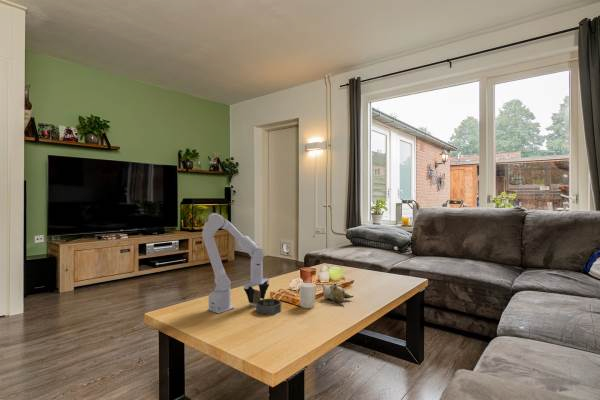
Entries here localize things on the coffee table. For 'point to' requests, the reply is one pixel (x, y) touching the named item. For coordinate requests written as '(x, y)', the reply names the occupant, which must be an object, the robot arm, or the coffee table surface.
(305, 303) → the white cup
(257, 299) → the wood wick
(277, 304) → the candle tin
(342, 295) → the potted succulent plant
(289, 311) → the coffee table surface
